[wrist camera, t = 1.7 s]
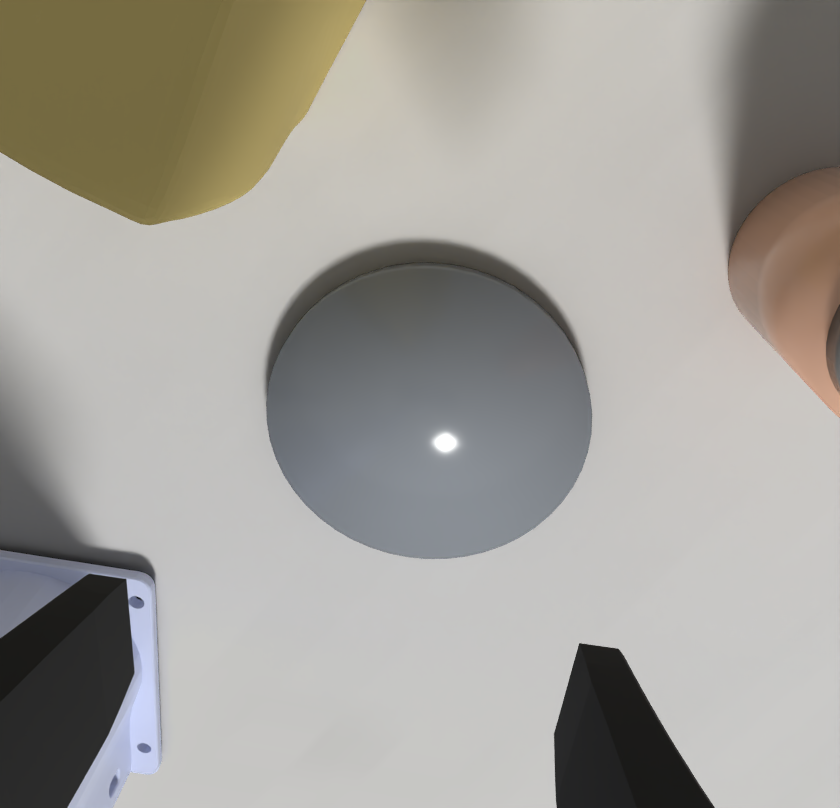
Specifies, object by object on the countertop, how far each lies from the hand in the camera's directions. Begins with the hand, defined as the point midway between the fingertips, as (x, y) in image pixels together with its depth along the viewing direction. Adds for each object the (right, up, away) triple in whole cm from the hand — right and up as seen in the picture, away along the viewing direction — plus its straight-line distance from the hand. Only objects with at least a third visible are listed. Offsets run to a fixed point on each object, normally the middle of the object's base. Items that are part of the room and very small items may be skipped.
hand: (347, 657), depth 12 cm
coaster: (+1, +4, +9) cm, 10 cm away
